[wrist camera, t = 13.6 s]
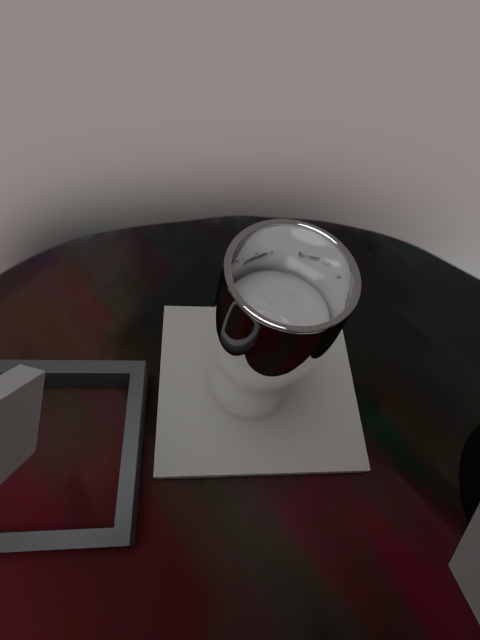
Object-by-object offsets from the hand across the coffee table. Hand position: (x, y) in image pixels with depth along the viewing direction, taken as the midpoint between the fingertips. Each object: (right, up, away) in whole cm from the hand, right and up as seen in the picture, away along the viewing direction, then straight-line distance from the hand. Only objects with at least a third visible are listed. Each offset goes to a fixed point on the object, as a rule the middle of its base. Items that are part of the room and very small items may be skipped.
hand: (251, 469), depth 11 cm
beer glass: (0, -1, +20) cm, 20 cm away
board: (+1, -1, +21) cm, 21 cm away
